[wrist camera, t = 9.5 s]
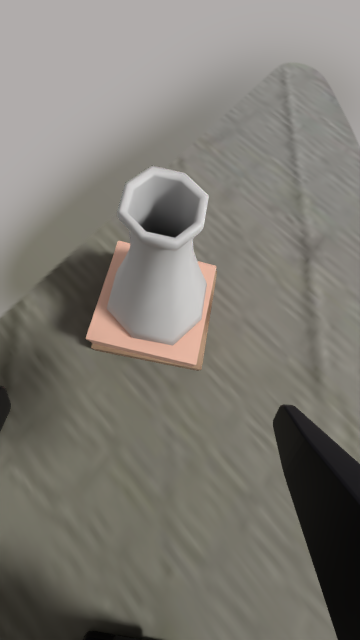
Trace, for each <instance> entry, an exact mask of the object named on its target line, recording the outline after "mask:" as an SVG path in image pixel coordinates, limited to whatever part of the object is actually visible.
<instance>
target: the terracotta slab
mask: <svg viewBox="0 0 360 640" xmlns="http://www.w3.org/2000/svg"><path fill="white" fill-rule="evenodd" d="M129 249H130V244H129V243H126V242H122V241H118V243H117V246H116V249H115V252H114V255H113V258H112V261H111V264H110V267H109V270H108V273H107V276H106V279H105V282H104V285H103V288H102V291H101V294H100V297H99V300H98V303H97V306H96V309H95V312H94V315H93V318H92V321H91V324H90V327H89V330H88V333H87V336H86V338H85V339H87V340H89V341H90V342H92V343H93V344H97V345H101V346H105V347H109V348H114V349H118V350H122V351H126V352H130V353H135V354H139V355H143V356H147V357H151V358H155V359H160V360H164V361H168V362H172V363H176V364H181V365H185V366H189V367H192V366H195V365H196V364H197V359H198V354H199V349H200V344H201V339H202V334H203V329H204V325H205V320H206V315H207V310H208V305H209V300H210V295H211V290H212V286H213V281H214V276H215V271H216V266H214V265H210V264H206V263H202V262H199V261H197V262H198V265H199V267H200V270H201V272H202V274H203V276H204V278H205V280H206V283H207V287H206V293H205V300H204V306H203V312H202V319H201V320H200V321H199V322H198V323H197V324H196V325H195V326H194V327H193V328H192V329H190V330H189V331H188V332H187V333H186V334H185V335H184V336H183V337H182V338H181V339H180V340H178V341H177V342H176V343H175V344H174V345H168V344H162V343H157V342H152V341H147V340H141V339H136V338H133V337H132V336H131V335H130V334H129V333H128V332H127V331H126V330H125V328H124V327H123V326H122V325H121V324H120V323H119V322H118V321H117V320H116V318H115V317H114V316H113V315H112V314H111V313H110V312H109V311H108V310H107V305H108V301H109V297H110V294H111V290H112V286H113V282H114V279H115V275H116V272H117V270H118V268H119V266H120V265H121V263H122V262H123V260H124V259H125V257H126V255H127V253H128V251H129Z"/></svg>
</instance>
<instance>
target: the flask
mask: <svg viewBox="0 0 360 640" xmlns="http://www.w3.org/2000/svg"><path fill="white" fill-rule="evenodd" d="M208 198H209V195H207V194H206V193H205V192H204V191H203V190H202V189H201V188H200V187H199V186H198V185H197V184H196V183H195V182H194V181H193V180H192V179H191V178H190V177H189V176H188V175H187V174H186V173H183V172H178V171H174V170H170V169H166V168H161V167H157V166H153V165H152V166H150V167H149V168H147V169H146V170H144V171H143V172H141V173H139V174H138V175H136V176H135V177H133V178H132V179H130V180H129V181H127V182H126V183H125V186H124V190H123V194H122V197H121V200H120V204H119V207H118V211H117V216H118V218H119V220H120V221H121V222H122V223H123V224H124V225H125V226H126V227H127V228H128V229H129V235H130V242H131V244H130V249H129V251H128V253H127V255H126V257H125V259H124V260H123V262H122V263H121V265H120V266H119V268H118V270H117V272H116V275H115V279H114V282H113V286H112V290H111V294H110V297H109V301H108V305H107V310H108V311H109V312H110V313H111V314H112V315H113V316H114V317H115V318H116V320H117V321H118V322H119V323H120V324H121V325H122V326H123V327H124V328H125V330H126V331H127V332H128V333H129V334H130V335H131V336H132V337H133V338H136V339H141V340H147V341H152V342H157V343H162V344H168V345H174V344H175V343H176V342H177V341H178V340H180V339H181V338H182V337H183V336H184V335H185V334H186V333H187V332H188V331H189V330H190V329H192V328H193V327H194V326H195V325H196V324H197V323H198V322H199V321H200V320H201V319H202V312H203V306H204V300H205V293H206V287H207V283H206V280H205V278H204V276H203V274H202V272H201V270H200V267H199V265H198V262H197V259H196V256H195V253H194V251H193V238H194V237H195V236H196V235H197V234H199V233H200V232H201V231H202V229H203V226H204V221H205V215H206V209H207V204H208Z"/></svg>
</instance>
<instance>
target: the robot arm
mask: <svg viewBox="0 0 360 640" xmlns="http://www.w3.org/2000/svg"><path fill="white" fill-rule="evenodd" d="M10 408H11V403H10V400H9V397H8V394H7V390H6V388H5V387H4V386H0V431H1V429H2V427H3V425H4V423H5V420H6V418H7V416H8V414H9V412H10ZM273 428H274V433H275V437H276V442H277V446H278V451H279V455H280V460H281V464H282V468H283V472H284V476H285V479H286V482H287V485H288V488H289V491H290V494H291V497H292V500H293V504H294V507H295V510H296V513H297V516H298V519H299V522H300V525H301V528H302V531H303V534H304V537H305V540H306V543H307V546H308V550H309V553H310V556H311V559H312V562H313V565H314V568H315V571H316V574H317V577H318V580H319V583H320V586H321V589H322V592H323V596H324V599H325V602H326V605H327V608H328V611H329V614H330V617H331V620H332V623H333V626H334V629H335V632H336V635H337V639H338V640H360V464H359V463H358V462H357V461H356V460H355V459H354V458H352V457H351V456H350V455H349V454H348V453H347V452H346V451H345V450H343V449H342V448H341V447H340V446H339V445H338V444H337V443H336V442H334V441H333V440H332V439H331V438H330V437H329V436H328V435H327V434H325V433H324V432H323V431H322V430H321V429H320V428H319V427H318V426H316V425H315V424H314V423H313V422H312V421H311V420H310V419H309V418H307V417H306V416H305V415H304V414H303V413H302V412H301V411H300V410H298V409H297V408H296V407H295V406H293V405H281V406H280V407H279V409H278V411H277V413H276V415H275V418H274V420H273ZM83 640H139V639H134V638H128V637H123V636H116V635H111V634H105V633H100V632H94V631H90V632H88V633H87V634H86V635H85V636H84V638H83Z"/></svg>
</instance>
